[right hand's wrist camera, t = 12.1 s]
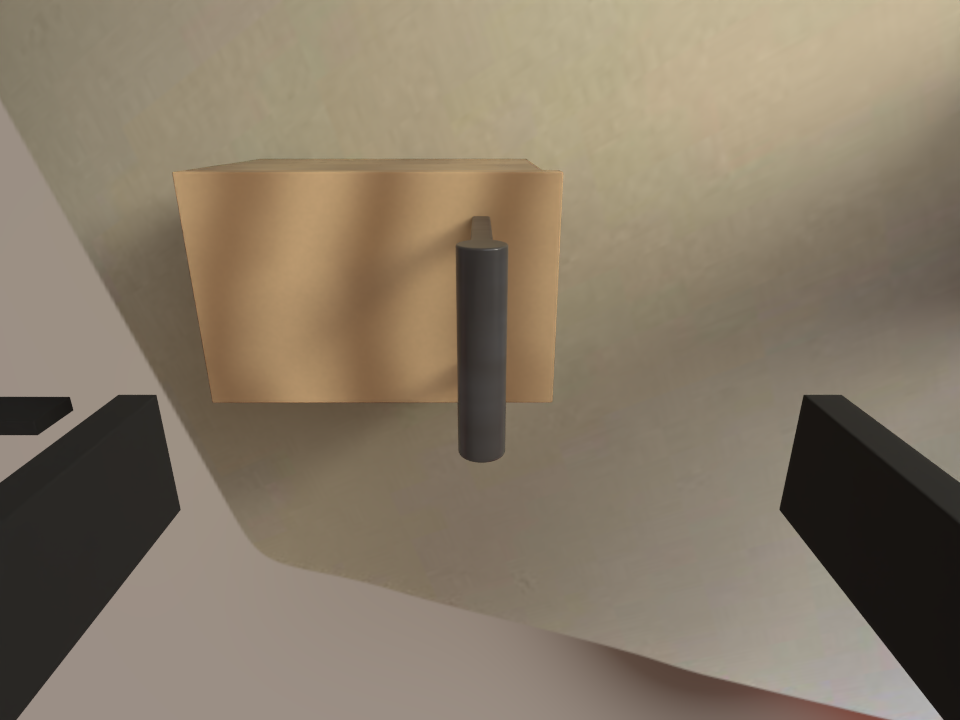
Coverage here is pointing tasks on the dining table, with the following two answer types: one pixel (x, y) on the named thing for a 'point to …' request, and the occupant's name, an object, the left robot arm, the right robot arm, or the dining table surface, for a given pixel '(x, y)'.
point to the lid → (378, 288)
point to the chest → (377, 165)
